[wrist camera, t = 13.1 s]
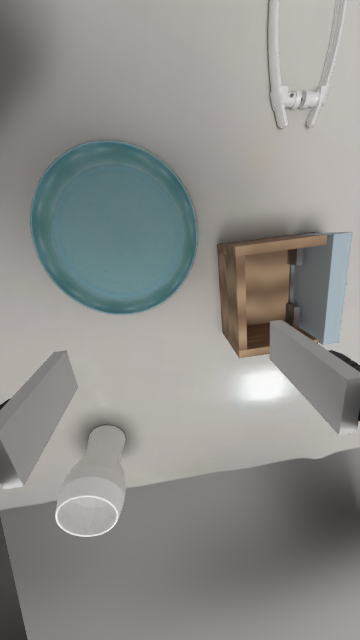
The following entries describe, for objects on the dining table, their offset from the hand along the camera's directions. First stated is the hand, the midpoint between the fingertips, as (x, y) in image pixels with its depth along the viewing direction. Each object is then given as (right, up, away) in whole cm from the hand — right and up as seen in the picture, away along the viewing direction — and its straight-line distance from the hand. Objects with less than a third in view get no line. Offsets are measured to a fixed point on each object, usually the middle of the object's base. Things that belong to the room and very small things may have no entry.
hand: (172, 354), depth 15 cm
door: (+22, +9, +26) cm, 36 cm away
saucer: (-9, +16, +23) cm, 29 cm away
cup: (-15, -23, +35) cm, 45 cm away
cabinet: (+16, +8, +27) cm, 32 cm away
